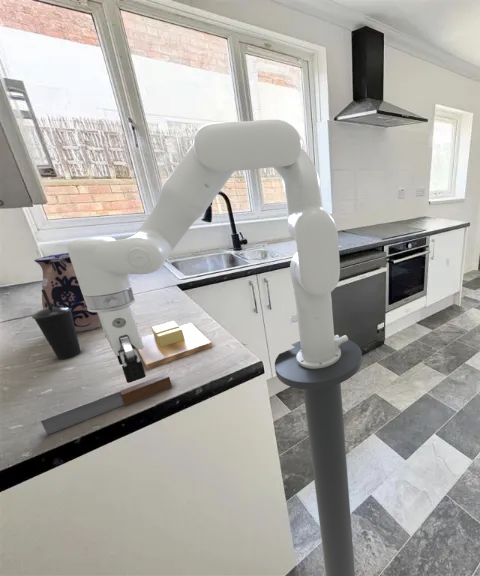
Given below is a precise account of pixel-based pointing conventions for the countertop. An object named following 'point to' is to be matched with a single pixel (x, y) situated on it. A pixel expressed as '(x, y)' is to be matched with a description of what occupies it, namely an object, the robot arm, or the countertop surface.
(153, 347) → the board
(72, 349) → the drinking cup
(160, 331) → the butter block
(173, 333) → the butter slice
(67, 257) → the ceramic pitcher
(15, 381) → the countertop surface
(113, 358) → the countertop surface
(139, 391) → the knife
